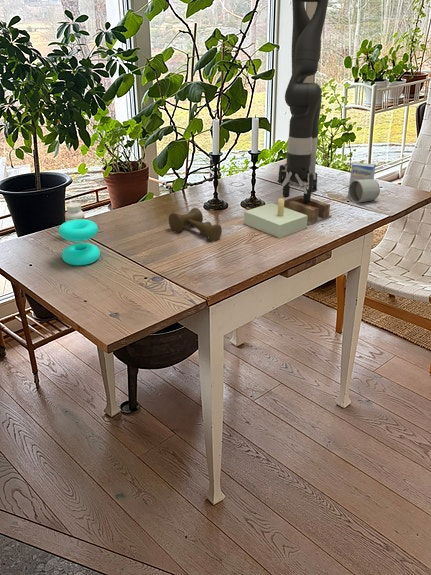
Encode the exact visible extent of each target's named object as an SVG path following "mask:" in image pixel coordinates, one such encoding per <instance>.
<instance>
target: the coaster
mask: <svg viewBox="0 0 431 575" xmlns="http://www.w3.org/2000/svg"><path fill="white" fill-rule="evenodd" d="M330 218H332V214H329V217H326V218H321V217H319V216H318V221H315V222H309V221H307V226H310V225H314V224H316V223H320V222H322V221H324V220H328V219H330Z"/></svg>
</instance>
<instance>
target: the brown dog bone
mask: <svg viewBox="0 0 431 575" xmlns="http://www.w3.org/2000/svg"><path fill="white" fill-rule="evenodd" d="M168 225H169V228H170V229H171V231H172V232H174V233H177V234H178V233H180V232H181V231H182V230H183V228H184V227H186V226H192V227H194V228H195V229H196V230H198V231H199V233H200V236H203V237H205V236H206V237H207V238H208V241H209V242H216V241H218V240H219V239H220V238H221V236H222V232H223V230H222V227H221V225H220V224H214V225H213V224H212V223H211V222H210V221H205V222H204V216H203V213H202V211H201V210H200V209H199V208H197V207H193V208H191V209H190V210H189V212H188V213H186V214H179V213H175V212H172V213H170V214H169V216H168Z"/></svg>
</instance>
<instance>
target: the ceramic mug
mask: <svg viewBox="0 0 431 575" xmlns="http://www.w3.org/2000/svg"><path fill="white" fill-rule="evenodd" d="M349 184H350V183H349ZM380 192H381V187H380V185H379V182H378V181H377V180H375V179H374V180H372V179H365V180H354V181H352V182H351V184H350V186H348V191H347V195H348V197H349V199H350V200H351V201H352V202H353V203H355V204H359V203H364V202H371V201H374V200H376V199H377V198H378V197H379V195H380Z"/></svg>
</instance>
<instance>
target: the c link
mask: <svg viewBox="0 0 431 575" xmlns="http://www.w3.org/2000/svg"><path fill="white" fill-rule="evenodd" d="M303 196H304V194H303V195H302V194H300V195H298V196H297V195H296V196H294V197H291V198H287V199H284V207H285V208H288V209H291V210H293V211H296V212H299V213H302V214H305V215H307V216H308V218H307V221H309V222H315V221H318V216H319V217H321V218H326V217H329V215H330V213H331V212H330V211H331V210H330V209H331V204H330V203H327V202H325V201H324V202H323V201H320V200H317V199H315V198H312V197H311V198H310V203H309V204H307V205H305V204H303Z"/></svg>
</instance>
